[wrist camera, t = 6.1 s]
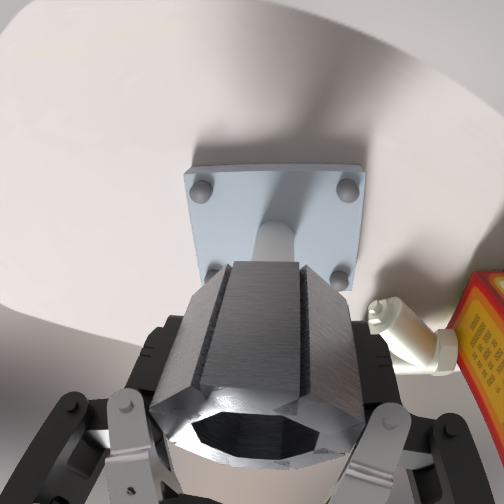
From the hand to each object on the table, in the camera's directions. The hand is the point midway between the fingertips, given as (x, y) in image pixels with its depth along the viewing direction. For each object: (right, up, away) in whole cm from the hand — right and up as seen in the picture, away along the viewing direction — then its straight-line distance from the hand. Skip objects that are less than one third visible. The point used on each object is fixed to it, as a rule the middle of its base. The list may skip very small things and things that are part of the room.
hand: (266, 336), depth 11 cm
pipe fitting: (+12, -2, +10) cm, 16 cm away
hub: (0, 0, +1) cm, 1 cm away
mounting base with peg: (+1, +5, +8) cm, 9 cm away
